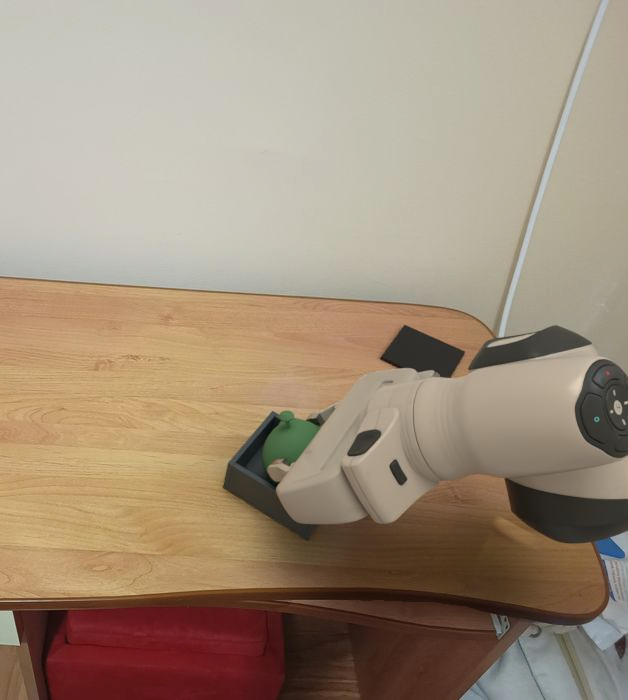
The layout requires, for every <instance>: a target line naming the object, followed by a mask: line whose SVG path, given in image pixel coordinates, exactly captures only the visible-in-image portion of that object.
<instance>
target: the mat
mask: <svg viewBox="0 0 628 700" xmlns="http://www.w3.org/2000/svg"><path fill="white" fill-rule="evenodd" d="M465 354H466V351H464V350H462V349H461V348H458V347H456V346H453V345H452V344H449V343H447V342H445V341H443V340H440V339H438V338H435V337H433V336H432V335H428V334H427V333H425V332H422V331H420V330H418V329H417V328H413V327H411V326H409V325H407V324H404V325H403V326H402V327H401V329H400V331H398V333H397V334H396V336H395V337H394V338H393V340H392V341H391V342H390V343H389V345H388V346H387V348H386V349H385V351H384V352H383V353H382V355H381V356H380V358H379V359H380V360H381V361H384V362H386V363H388V364H389V365H392V366H394V367H396V368H397V369H399V368H412V369H414V370H416V371H417V373H418V372H423V371H429V370H433V371H434V372H436V373H438V374H439V375H440V377H443V378H452V376H453V374H454V373H455V371H456V369H457V367H458V366H459V364H460V363H461V361H462V359H463V357H464V355H465Z"/></svg>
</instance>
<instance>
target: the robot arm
mask: <svg viewBox="0 0 628 700" xmlns="http://www.w3.org/2000/svg"><path fill="white" fill-rule="evenodd" d="M467 370H468V373H467V374H464V375H462V376H457V377H450V378H443V377H440V375H439V374H438V373H436V372H434V371H433V370H429V371H423V372H418V373H417V371H416V370H414V369H412V368H390V369H383V370H376V371H370V372H368V373H366V374H363V375H362V376H360V377H359V378H357V379H356V380H355V382H354V383H353V385H352V386H351V387H350V389H349V390H348V391H347V393H346V394H345V395H344V397H343V398H342V399H341V400H338V401H336V402H334V403H332V404H330V405H328V406H326V407H325V408H323V409H321V410H320V409H319V410H314V411H311V412H310V413H309V415H308V416H307V417H306V419H305V420H306V421H309V422H311V423H313V424H315V425H317V426H319V427H320V426H321V425H323V426H322V427H321V429H320V430H319V431H318V433H317V434H316V435H315V437H314V438H313V439H312V441H311V442H310V443H309V445H308V446H307V447H306V449H305V450H304V451H303V453H302V454H301V455H300V457H299V458H298V459H297V461H296V462H294V463H292V464H291V465H290V466H289V464H288V462H287V460H286V458H280V459H274V460H273V462H272V463H271V464H270V465H269V467H268V468H267V472H268V473H269V475H270V477H271V478H272V479H273V480H274V481H276V482H280V481H281V482H280V483H279V484H278V486H277V487H276V493H277V496H278V498H279V500H280V502H281V503H282V505H283V507H284V508H285V510H286V511H287V513H288V514H289V515H290V517H291V518H292V519H293V520H294V521H296V522H298V523H302V524H320V525H343V524H351V523H354V522H358V521H361V520H362V519H364V518H366V517H367V516H370V518H371V519H372V521H373V522H374V523H375V524H382V525H383V524H385V525H386V524H391V523H394V522H396V521H397V520H398V519H399V518H400V517H401V516H403V514H404V513H405V512H406V511H407V510H408V509H409V508H410V507H411V506H412V505H413V504H414V503H415V502H417V501H418V500H419V499H420V498H421V497H423V496H424V495H426V494H427V493H428V492H430V491H432V490H433V489H434V488H436V487H437V486H438V485H439V482H453V481H459V480H462V479H465V478H467V477H470V476H474V475H484V476H490V477H493V478H499V479H504V483H505V487H506V493H507V497H508V502H509V507H510V511H511V512H512V514H513V515H515V516H516V517H517V518H518V519H519V520H520V521H521V522H523V523H524V524H525V525H526V526H528V527H529V528H531V529H533V530H534V531H536V532H538V533H539V534H541V535H542V536H544V537H547V538H549V539H551V540H553V541H555V542H558V543H561V544H569V545H571V544H572V545H573V544H575V545H576V544H578V545H579V544H588V543H594V542H600V541H603V540H606V539H610V538H614V537H616V536H619V535H621V534H624V533H626V532H628V374H627V373H626V372H625V371H624V370H623V369H622V367H620V366H619V364H618V363H616V362H614V361H613V360H612V359H610V358H608V357H606V356H602V355H599V352H598V350H596V348H595V346H594V345H593V342H592V341H590V340H589V339H587V338H586V337H585V336H583V335H581V334H579V333H577V332H575V331H573V330H570V329H568V328H565V327H563V326H561V325H557V324H556V325H551V326H548V327H545V328H544V329H541V330H538V331H532V332H528V333H521V334H515V335H510V336H508V335H507V336H502V337H495V338H491V339H488V340H486V341H485V342H484V343H483V344H482V346H481V347H480V349H479V350H478V351H477V353H476V354H475V356H474V357H473V358H472V360H471V362H470V364H469V365H468V367H467Z"/></svg>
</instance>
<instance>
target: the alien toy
mask: <svg viewBox="0 0 628 700" xmlns="http://www.w3.org/2000/svg"><path fill="white" fill-rule="evenodd" d="M278 414H279V419H280V420H281V422H280V423H279V425H278V426H277V427H276V428H274V429H273V430H272V432H271V433H270V435H269V436H268V437H267V439H266V441H265V444H264V448H263V453H262V461H263V468H264V471H265V473H266V475H267V477H268V479H269V480H270V481H271V483H272V484H274V485H275V486H276V487H277V486H278V484H279V483H280V482H281V481H280V482H276V481H274V480H273V479H272V478H271V477H270V475H269V473H268V472H267V468H268V467H269V465H270V464H271V463H272V462H273V460H274V459H280V458H286V460H287V462H288V464H289V466H290V465H291V464H292V463H294V462H296V461H297V459H298V458H299V457H300V455H301V454H302V453H303V451H304V450H305V449H306V447H307V446H308V445H309V443H310V442H311V441H312V439H313V438H314V437H315V435H316V434H317V433H318V431H319V430H320V429H321V427H322V426H323V425H321V426H320V427H319V426H317V425H315V424H313V423H311V422H309V421H306V419H301V418H297V417H295V413H294V412H293V411H291V410H283V411H281V412H280V413H278Z"/></svg>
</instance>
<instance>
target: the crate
mask: <svg viewBox="0 0 628 700" xmlns="http://www.w3.org/2000/svg"><path fill="white" fill-rule="evenodd" d="M279 414H280V413H277V412H276V411H274V410H272V411H271V412H270V413H269V414H268V415H267V416H266V418H265V419H264V420H263V421H262V422H261V423H260V425H259V426H258V427H257V428H256V429H255V431H254V432H253V433H251V435H250V436H249V438H248V439H247V440H246V441H245V443H244V444H242V446H240V448H239V449H238V451H236V453H235V454H234V455H233V456H232V458H231V459H230V460H229V461H228V462H227V466H226V471H225V475H224V479H223V484H222V485H223V486H222V488H223V489H225V490H226V491H228V492H229V493H231V494H232V495H233V496H235V497H237V498H239V499H240V500H242V501H243V502H245V503H247V504H248V505H249V506H251V507H253V508H255V509H256V510H258V511H259V512H261V513H262V514H263V515H266V516H267V517H268V518H270V519H272V520H273V521H274V522H277V523H278V524H280V525H281V526H283V527H284V528H286V529H288V530H289V531H291V532H292V533H294V534H295V535H297V536H299V538H302V539H303V540H305V541H307V542H310V540H311V539H312V537H313V536H314V534H315V533H316V531H317V530H318V528H319V526H321V524H302V523H298V522H296V521H294V520H293V519H292V518H291V517H290V515H289V514H288V513H287V511H286V510H285V508H284V507H283V505H282V503H281V502H280V500H279V498H278V496H277V493H276V486H275V485H274V484H272V483H271V481H270V480H269V479H268V477H267V475H266V473H265V471H264V468H263V461H262V453H263V448H264V444H265V441H266V439H267V437H268V436H269V435H270V433H271V432H272V430H273V429H274V428H276V427H277V426H278V425H279V423H280V422H281V420H280V419H279Z"/></svg>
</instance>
